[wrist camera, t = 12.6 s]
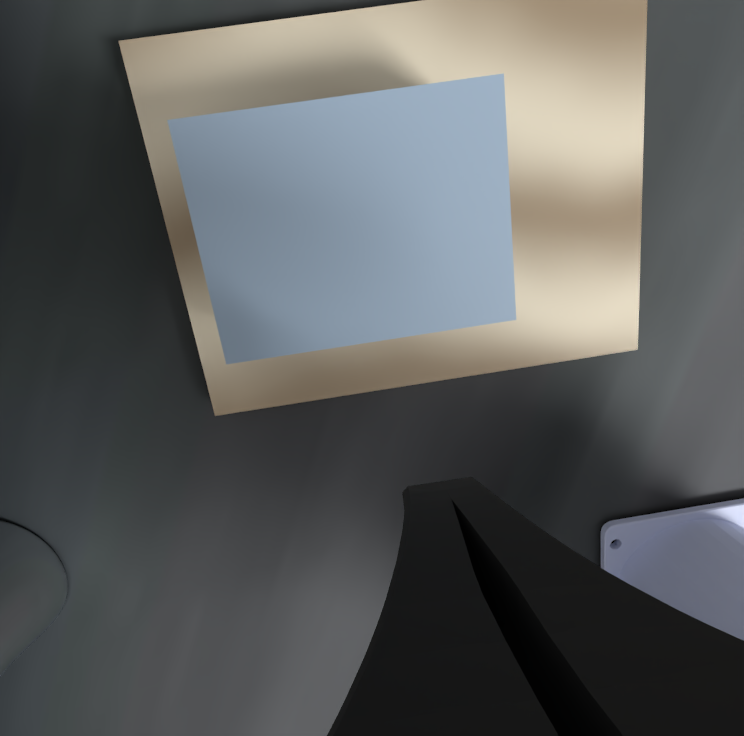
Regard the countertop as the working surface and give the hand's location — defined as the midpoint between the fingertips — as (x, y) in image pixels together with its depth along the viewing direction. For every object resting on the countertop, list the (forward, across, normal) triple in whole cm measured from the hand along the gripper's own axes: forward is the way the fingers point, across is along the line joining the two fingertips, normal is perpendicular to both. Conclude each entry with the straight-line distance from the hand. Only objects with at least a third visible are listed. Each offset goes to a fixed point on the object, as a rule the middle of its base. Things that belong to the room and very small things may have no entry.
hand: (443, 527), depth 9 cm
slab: (+7, -3, -6) cm, 9 cm away
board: (+10, -1, -6) cm, 12 cm away
